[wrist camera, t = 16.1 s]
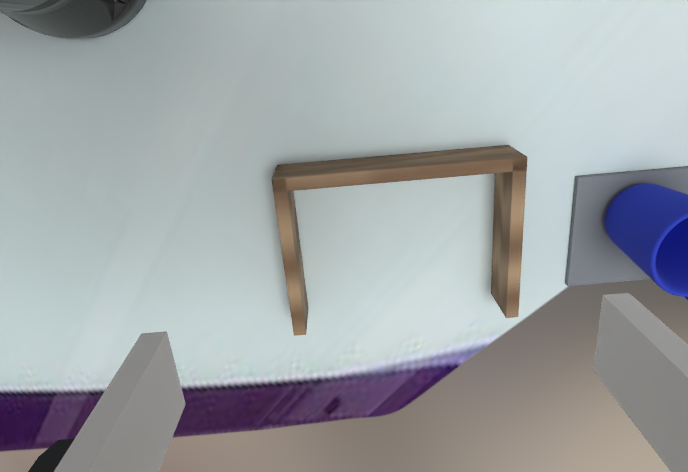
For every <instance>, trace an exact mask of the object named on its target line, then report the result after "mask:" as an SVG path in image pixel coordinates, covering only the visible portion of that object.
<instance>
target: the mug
mask: <svg viewBox="0 0 688 472" xmlns="http://www.w3.org/2000/svg"><path fill="white" fill-rule="evenodd" d="M605 227H606V231H607V233H608V235H609V237H610V239H611V240H612V241H613V242H614V243H615V244H616V245H617V246H618V247H619V248H620V249H621V250H622V251H623V252H624V253H625V254H626V255H627V256H628V257H629V258H630V259H631V260H632V261H633V262H634V263H635V264H636V265H637V266H638V267H639V268H641V269H642V270H643V271H644V272H645V273H646V274H647V275H648V276H649V277H650V278H651V279H652V280H653V281H654V282H655V283H656V284H657V285H658V286H659V287H660V288H662V289H663V290H665V291H667V292H668V293H671V294H673V295H677V296H684V297H685V298H686V299H687V300H688V194H685V193H682V192H679V191H676V190H673V189H670V188H667V187H664V186H660V185H655V184H640V185H636V186H632V187H630V188H628V189H626V190H624V191H623V192H621V193H620V194H619V195H617V196H616V197H615V198H614V200H613V201H612V202H611V204H610V205H609V207H608V209H607V212H606V216H605Z"/></svg>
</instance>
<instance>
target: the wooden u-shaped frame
mask: <svg viewBox="0 0 688 472" xmlns="http://www.w3.org/2000/svg"><path fill="white" fill-rule="evenodd" d="M526 170H527V157H526V156H525V155H523V154H522V153H520V152H519V151H517V150H515V149H514V148H512V147H511V146H509V145H504V146H492V147H481V148H469V149H458V150H446V151H435V152H423V153H412V154H400V155H389V156H377V157H366V158H354V159H343V160H331V161H320V162H308V163H297V164H285V165H277V168H276V170H275V173H274V175H273V177H272V185H273V192H274V199H275V206H276V213H277V220H278V227H279V234H280V241H281V248H282V255H283V262H284V269H285V276H286V283H287V290H288V297H289V304H290V311H291V317H292V324H293V331H294V335H306V329H307V318H308V303H307V295H306V287H305V279H304V271H303V263H302V256H301V248H300V240H299V232H298V224H297V216H296V208H295V201H294V193H293V191H294V190H306V189H317V188H329V187H340V186H352V185H363V184H375V183H387V182H398V181H410V180H421V179H433V178H444V177H456V176H467V175H479V174H491V173H495V193H494V224H493V254H492V285H491V294H492V296H493V297H494V299H495V301H496V302H497V304H498V306H499V307H500V309H501V310H502V312H503V314H504V315H505V317H506V318H511V317H518V310H519V293H520V275H521V258H522V240H523V223H524V205H525V188H526Z"/></svg>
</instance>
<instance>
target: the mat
mask: <svg viewBox="0 0 688 472" xmlns="http://www.w3.org/2000/svg"><path fill="white" fill-rule="evenodd" d="M640 184H655V185H660V186H664V187H667V188H670V189H673V190H676V191H679V192H682V193H685V194H688V166H687V167H675V168H663V169H652V170H640V171H629V172H617V173H605V174H594V175H582V176H575V187H574V197H573V208H572V218H571V228H570V239H569V249H568V260H567V270H566V280H565V284H566V285H567V286H572V285H584V284H597V283H609V282H621V281H632V280H645V279H651V278H650V277H649V276H648V275H647V274H646V273H645V272H644V271H643V270H642V269H641V268H639V267H638V266H637V265H636V264H635V263H634V262H633V261H632V260H631V259H630V258H629V257H628V256H627V255H626V254H625V253H624V252H623V251H622V250H621V249H620V248H619V247H618V246H617V245H616V244H615V243H614V242H613V241H612V240H611V239H610V237H609V235H608V233H607V231H606V227H605V216H606V212H607V209H608V207H609V205H610V204H611V202H612V201H613V200H614V198H615V197H616V196H617V195H619V194H620V193H621V192H623V191H624V190H626V189H628V188H630V187H632V186H636V185H640Z"/></svg>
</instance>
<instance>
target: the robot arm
mask: <svg viewBox="0 0 688 472" xmlns="http://www.w3.org/2000/svg"><path fill="white" fill-rule="evenodd" d="M145 2H146V0H0V11H1V12H2V13H4V14H6V15H7V16H8V17H10V18H11V19H13V20H14V21H16V22H18V23H19V24H21V25H23V26H25V27H27V28H29V29H32V30H34V31H37V32H39V33H42V34H46V35H50V36H54V37H60V38H92V37H98V36H102V35H106V34H109V33H111V32H113V31H115V30H117V29H119V28H121V27H122V26H124V25H125V24H127V23H128V22H129V21H130V20H131V19H132V18H133V17H134V16H135V15H136V14H137V13H138V12H139V11H140V9H141V8H142V7H143V5H144V3H145ZM593 371H594V372H595V374H596V375H597V376H598V378H599V379H600V380H601V382H602V383H603V384H604V386H605V387H606V388H607V389H608V391H609V392H610V393H611V394H612V396H613V397H614V398H615V400H616V401H617V402H618V404H619V405H620V406H621V408H622V409H623V410H624V411H625V413H626V414H627V415H628V417H629V418H630V419H631V420H632V422H633V423H634V424H635V426H636V427H637V428H638V430H639V431H640V432H641V433H642V435H643V436H644V437H645V439H646V440H647V441H648V442H649V444H650V445H651V446H652V448H653V449H654V450H655V452H656V453H657V454H658V455H659V457H660V458H661V459H662V461H663V462H664V463H665V464H666V466H667V467H668V468H669V470H670V471H671V472H688V345H687V344H686V343H685V342H684V341H683V340H682V339H681V338H679V337H678V336H677V335H676V334H675V333H674V332H673V331H671V330H670V329H669V328H668V327H667V326H666V325H664V324H663V323H662V322H661V321H660V320H659V319H658V318H656V317H655V316H654V315H653V314H652V313H651V312H650V311H649V310H648V309H646V308H645V307H644V306H643V305H642V304H641V303H640V302H638V301H637V300H636V299H635V298H634V297H632V295H630V294H629V293H622V294H610V295H603V300H602V306H601V315H600V322H599V330H598V337H597V345H596V353H595V360H594V368H593ZM184 406H185V401H184V397H183V393H182V389H181V385H180V381H179V377H178V373H177V369H176V366H175V362H174V358H173V354H172V350H171V346H170V342H169V338H168V334H167V332H155V333H143V334H141V335H140V337H139V338H138V340H137V342H136V343H135V345H134V346H133V348H132V350H131V351H130V353H129V354H128V356H127V357H126V359H125V361H124V362H123V364H122V365H121V367H120V368H119V370H118V372H117V373H116V375H115V376H114V378H113V379H112V381H111V383H110V384H109V386H108V387H107V389H106V390H105V392H104V394H103V395H102V397H101V398H100V400H99V401H98V403H97V405H96V406H95V408H94V409H93V411H92V412H91V414H90V416H89V417H88V419H87V420H86V422H85V423H84V425H83V427H82V428H81V430H80V431H79V433H78V435H77V436H76V438H75V439H65V440H58V441H56V442H55V443H54V444H53V445H52V446H51V447H50V448H48V449H47V450H46V451H45V452H44V453H43V454H41V455H40V456H39V457H38V459H37V460H36V461H35V463H34V464H33V466H32V467H31V468H30V470H29V471H28V472H159V469H160V467H161V464H162V462H163V459H164V457H165V454H166V452H167V449H168V447H169V444H170V441H171V439H172V437H173V434H174V432H175V429H176V427H177V424H178V421H179V419H180V416H181V414H182V411H183V409H184Z"/></svg>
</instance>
